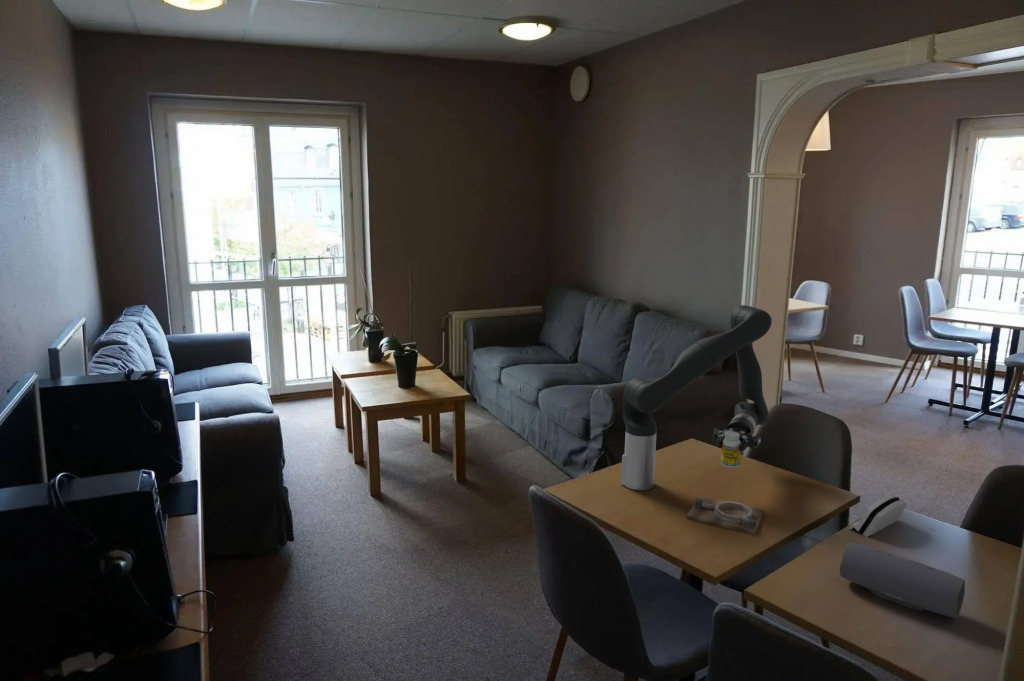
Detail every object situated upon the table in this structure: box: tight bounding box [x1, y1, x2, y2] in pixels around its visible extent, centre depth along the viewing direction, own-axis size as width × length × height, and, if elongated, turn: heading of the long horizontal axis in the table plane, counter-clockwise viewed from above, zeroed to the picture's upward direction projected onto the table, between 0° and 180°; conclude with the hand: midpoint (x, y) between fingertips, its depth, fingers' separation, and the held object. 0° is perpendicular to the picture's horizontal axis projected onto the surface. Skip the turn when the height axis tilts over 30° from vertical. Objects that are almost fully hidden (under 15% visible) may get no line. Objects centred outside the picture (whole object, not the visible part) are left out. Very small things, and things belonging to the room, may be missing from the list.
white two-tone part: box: [849, 494, 908, 538], centre depth 183 cm, size 17×5×10 cm, turn 126°
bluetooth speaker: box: [839, 541, 966, 619], centre depth 150 cm, size 23×9×10 cm, turn 46°
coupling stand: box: [686, 495, 765, 535], centre depth 189 cm, size 18×14×3 cm
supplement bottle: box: [720, 431, 742, 469], centre depth 196 cm, size 5×5×10 cm
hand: (729, 446), depth 193 cm, fingers closed on supplement bottle, 5 cm apart
